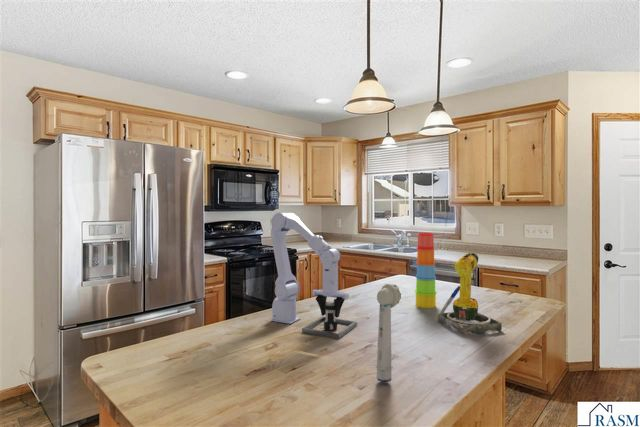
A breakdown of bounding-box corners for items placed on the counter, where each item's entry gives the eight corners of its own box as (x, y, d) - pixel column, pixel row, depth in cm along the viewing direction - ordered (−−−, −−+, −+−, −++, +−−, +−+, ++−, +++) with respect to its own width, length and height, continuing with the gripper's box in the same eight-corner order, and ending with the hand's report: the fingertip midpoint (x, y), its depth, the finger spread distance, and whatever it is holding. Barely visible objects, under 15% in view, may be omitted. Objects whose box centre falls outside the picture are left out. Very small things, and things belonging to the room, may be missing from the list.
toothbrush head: (371, 378, 96) (371, 285, 96) (386, 370, 101) (386, 281, 101) (387, 385, 92) (387, 288, 92) (402, 376, 97) (402, 284, 97)
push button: (322, 331, 132) (322, 303, 133) (317, 328, 137) (318, 301, 138) (339, 330, 134) (339, 303, 135) (334, 327, 139) (334, 300, 140)
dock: (302, 332, 133) (302, 328, 132) (323, 320, 148) (323, 316, 148) (338, 339, 126) (338, 334, 126) (357, 325, 141) (357, 321, 141)
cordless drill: (507, 331, 133) (506, 256, 133) (462, 335, 129) (461, 258, 129) (474, 317, 151) (474, 252, 151) (434, 321, 146) (433, 253, 147)
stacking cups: (441, 308, 166) (441, 233, 165) (427, 311, 160) (427, 234, 160) (424, 303, 174) (424, 232, 174) (409, 306, 168) (409, 232, 168)
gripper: (308, 280, 136) (308, 316, 136) (343, 283, 130) (343, 321, 130) (317, 277, 143) (317, 311, 143) (351, 280, 136) (351, 316, 136)
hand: (330, 315), depth 137 cm, fingers closed on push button, 5 cm apart
